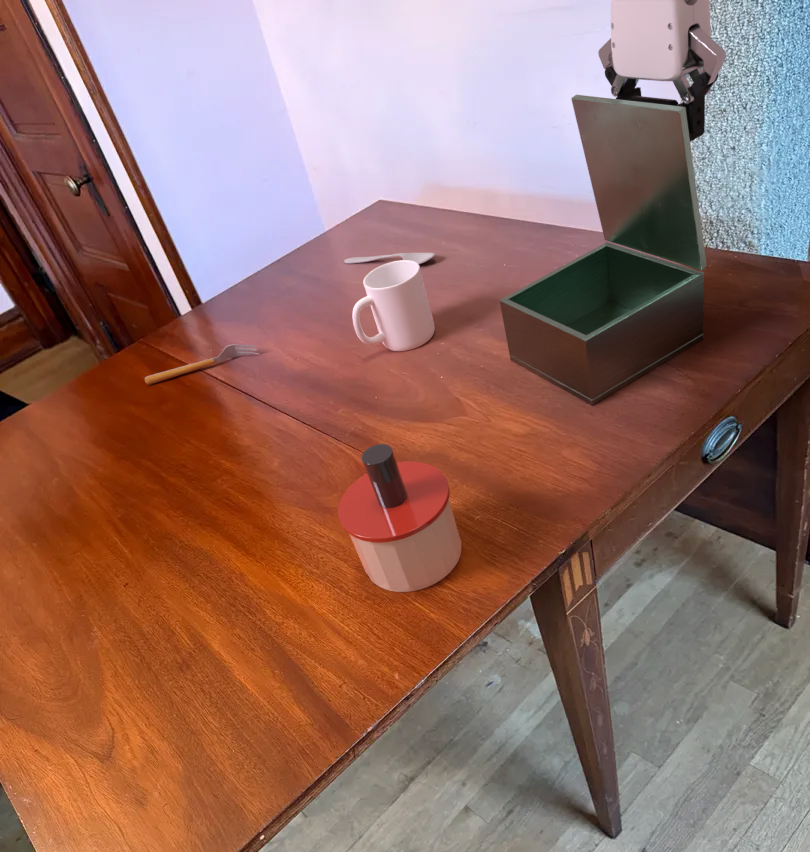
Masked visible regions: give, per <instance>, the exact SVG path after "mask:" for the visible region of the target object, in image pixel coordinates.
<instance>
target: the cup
mask: <svg viewBox="0 0 810 852" xmlns="http://www.w3.org/2000/svg"><path fill="white" fill-rule="evenodd" d="M362 283H363V287H364V290H365V293H366V296H364V297H362V298H360V299H359V300H358V301H357V302H356V303H355V304H354V306H353V308H352V315H351V316H352V324H353V329H354V332H355V334H356V336H357V337H358V339H359V340H360V342H362V343H363V344H364V345H367V346H375V345H378V344H381V343H382V345H383V346H384V347H385V348H386V349H387V350H390V351H393V352H406V351H411V350H414V349H417V348H419V347H422V346H423V345H425V344H426V343H427V342H429V341H430V340H431V339H432V337H433V336H434V334H435V331H436V330H435V329H436V327H435V321H434V318H433V317H434V316H433V314H432V309H431V306H430V301H429V298H428V294H427V289H426V285H425V282H424V279H423V275H422V270H421V266H420V264H418V263H417V262H415V261H411V260H403V259H402V260H401V259H399V260H394V261H390V262H386V263H384V264H381V265H380V266H377V267H375V268H374V269H372V270H371V271H369V272H368V273H367V274H366V275H365V276H364V277H363V281H362ZM369 306H370V309H371V313H372V315H373V319H374V321H375V325H376V328H377V332H378V334H375V335H373V336H368V335H366V333H365V331H364V329H363V327H362V323H361V322H362V321H361V312H362V310H363V309H364V308H367V307H369Z"/></svg>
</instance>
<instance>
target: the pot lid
mask: <svg viewBox="0 0 810 852" xmlns="http://www.w3.org/2000/svg"><path fill="white" fill-rule="evenodd" d="M361 462H362V464H363V467H364V470H365V472H366V473H364V474H363V475H362V476H360V477H358V479H356V480H355V481H354V482H353V483H352V484H351V485H350V486H349V487H348V488H347V489H346V490H345V491H344V493H343V495H342V497H341V499H340V501H339V503H338V509H337V513H338V514H337V515H338V519H339V522H340V524H341V526H342V528H343V529H344V531H345V532H346V533H347V534H348V535H349V534H350V535H351V536H353V537H355V538H357V539H359V540H363V541H366V542H375V543H382V542H391V541H397V540H400V539H404V538H407V537H410V536H412V535H414V534H416V533H418V532H420V531H422V530H423V529H425V528H426V527H428V526H429V525H431V524H432V523H433V522H434V521H435V520H436V519H437V518H438V517H439V516H440V515H441V514H442V512H443V511H444V509H445V507H446V506H447V503H448V500H449V501H450V495H451V491H450V485H449V481H448V479H447V477H446V476H445V474H444V472H442V471H441V470H440V469H439V468H437V467H436V466H434V465H432V464H430V463H427V462H422V461H414V460H411V461H410V460H409V461H407V460H405V461H397V459H396V456H395V453H394V451H393V448H392V446H390V445H389V444H385V443H379V444H375V445H372V446H369V447H368V448H366V449H365V450H364V451H363V452H362V454H361ZM350 535H349V536H350Z"/></svg>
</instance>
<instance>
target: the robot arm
mask: <svg viewBox="0 0 810 852" xmlns="http://www.w3.org/2000/svg"><path fill="white" fill-rule="evenodd" d="M711 29H712V28H711V7H710V0H610V38H609V39H608V40H607V41H606V42H605V43H604V44H603V45H602V46H601V47H600V48H599V49H598V51H597V53H598V58H599V60H600V63H601V64H602V67H603V69H604V76H605V78H606V80H607V81H608V83H609V85H610V86H611V87H610V92H611V95H612V96H613V97H615V99H620V100H628V101H629V100H630V98H631V97H633V96H642V88H641V87H640V86H637V85H638V83H639V81H640V80H643V81H644V80H645V81H654V82H655V81H657V82H672V83H673V85H674V87H675V89H676V91H677V93H678V95H679V96H680V99H681V101H682V102H680V103H678V106H682V107H685V108H686V116H687V123H688V131H689V138H690V142H692V141H694V140H697V139H698V138H700V137H702V136H703V135H704V134H705V128H706V127H705V122H706V121H705V119H706V118H705V117H706V113H705V112H706V95H709V94H710V93H711V89H712V87H713V86H714V84H715V83H716V81H717V80H718V79H719V73H720V72H721V70H722V67H723V64H724V63H725V60H726V57H727V52H726V50H725V49H724V48H723V47H722V46H720V45H719V44H718V43H717V42H716V41H715V40H714V39H713V38H712V35H711V34H712V31H711ZM688 77H690V79H691V81H692V84H690V82H689V81H688V79H687V78H688Z"/></svg>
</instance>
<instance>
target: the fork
mask: <svg viewBox="0 0 810 852" xmlns="http://www.w3.org/2000/svg"><path fill="white" fill-rule="evenodd" d="M248 355H249V356H250V355H257V356H259V355H261V353H259V350H258V349H257V346H256V345H252V344H239V343H238V344H237V343H235V344H234V343H232V344H229V345H226V346H225V347H224V349H222V351H221V353H220V354H219V355H218V356H215V357H211V358H207V359H204V360H200V361H197V362H193V363H189V364H186V365H183V366H178V367H175V368H172V369H168V370H165V371H161V372H158V373H157V372H156V373H154V374H150V375H147V376H145V377H144V382H145V383H146V384H147V385H149V386H150V385H154V384H157V383H160V382H162V381H166V380H169V379H172V378H175V377H178V376H181V375H184V374H188V373H192V372H194V371H197V370H200V369H204V368H206V367H210V366H212V365H216V364H218V363H221V362H224V361H226V360H228V359H235V358H237V357H241V356H248Z"/></svg>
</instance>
